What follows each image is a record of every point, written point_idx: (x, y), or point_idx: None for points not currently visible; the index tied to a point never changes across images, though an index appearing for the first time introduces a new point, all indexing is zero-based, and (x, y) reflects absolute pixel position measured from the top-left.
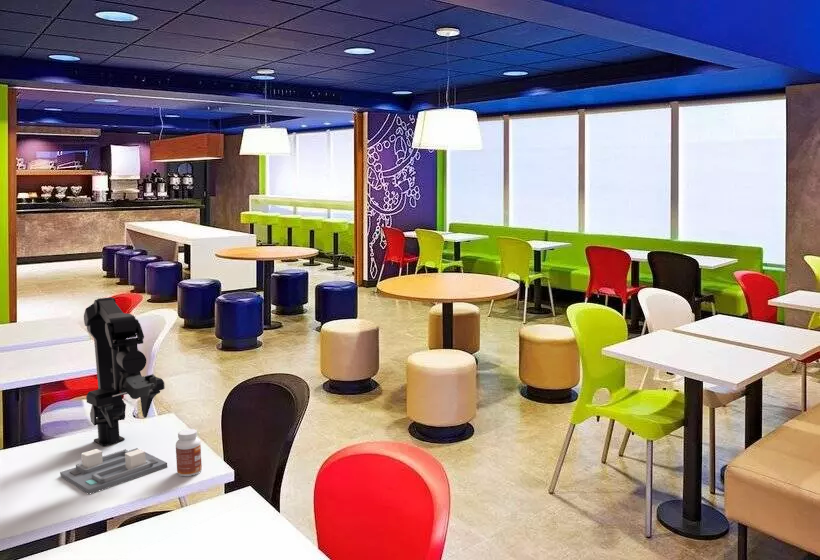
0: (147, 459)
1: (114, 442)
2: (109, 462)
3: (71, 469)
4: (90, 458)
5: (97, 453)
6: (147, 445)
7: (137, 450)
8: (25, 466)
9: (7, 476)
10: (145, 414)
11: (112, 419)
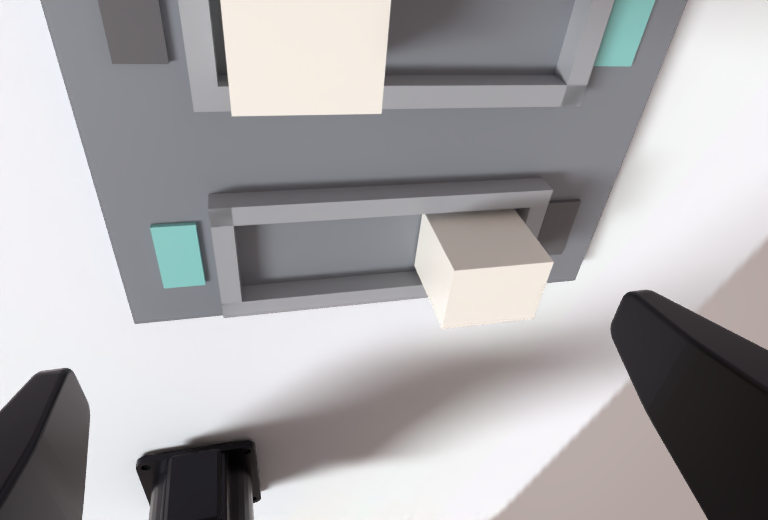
0: (146, 97)
1: (196, 450)
2: (404, 197)
3: None
4: (521, 249)
5: (483, 265)
6: (43, 354)
7: (262, 94)
8: (546, 415)
9: None
10: (48, 413)
11: (756, 371)
